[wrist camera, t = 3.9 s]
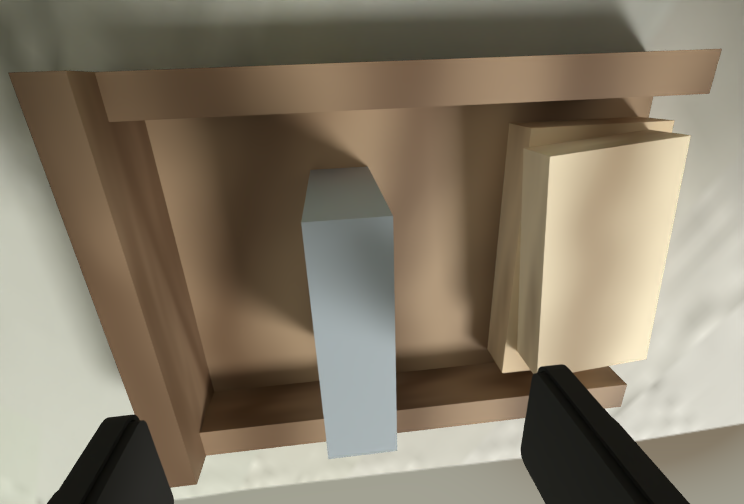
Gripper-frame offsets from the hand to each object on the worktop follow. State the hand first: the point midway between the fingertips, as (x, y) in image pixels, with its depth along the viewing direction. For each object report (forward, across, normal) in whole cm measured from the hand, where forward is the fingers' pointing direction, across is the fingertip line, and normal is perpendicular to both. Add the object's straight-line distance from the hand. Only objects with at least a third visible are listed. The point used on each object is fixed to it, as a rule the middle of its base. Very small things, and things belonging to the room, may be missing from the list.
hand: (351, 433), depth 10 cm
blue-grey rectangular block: (+10, 0, 0) cm, 10 cm away
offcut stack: (+10, -11, 0) cm, 15 cm away
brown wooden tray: (+11, -2, 0) cm, 11 cm away
